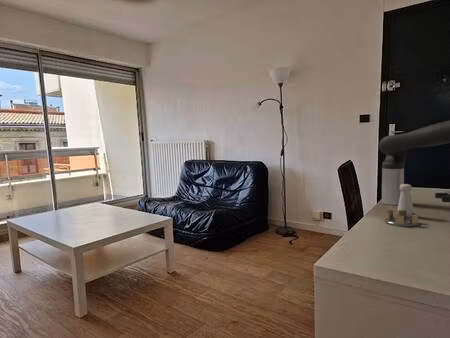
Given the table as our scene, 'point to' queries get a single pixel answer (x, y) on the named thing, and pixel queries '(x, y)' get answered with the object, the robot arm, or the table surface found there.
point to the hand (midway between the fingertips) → (438, 197)
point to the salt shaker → (405, 199)
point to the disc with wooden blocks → (401, 219)
